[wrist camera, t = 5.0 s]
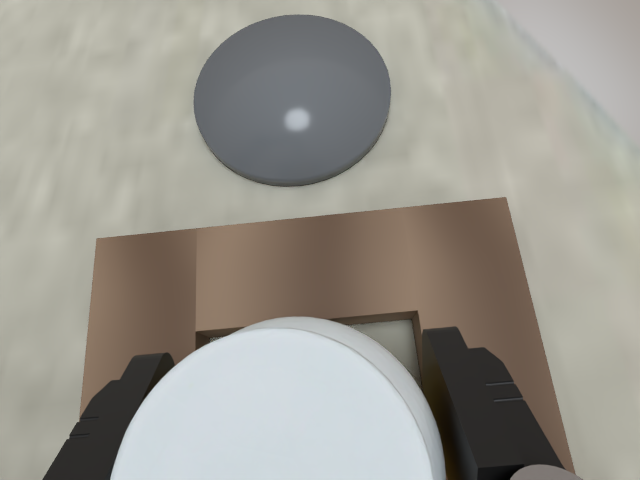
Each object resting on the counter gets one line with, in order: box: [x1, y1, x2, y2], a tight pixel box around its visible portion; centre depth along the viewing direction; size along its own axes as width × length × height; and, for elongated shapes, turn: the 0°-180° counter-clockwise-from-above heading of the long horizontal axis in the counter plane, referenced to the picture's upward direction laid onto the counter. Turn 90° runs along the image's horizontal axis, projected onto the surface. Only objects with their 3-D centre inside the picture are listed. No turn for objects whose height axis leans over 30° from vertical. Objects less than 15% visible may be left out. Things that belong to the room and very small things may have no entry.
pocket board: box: [79, 197, 576, 480], centre depth 14 cm, size 14×14×2 cm
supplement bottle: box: [110, 317, 446, 480], centre depth 10 cm, size 5×5×10 cm
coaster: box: [194, 15, 391, 186], centre depth 18 cm, size 8×8×1 cm
